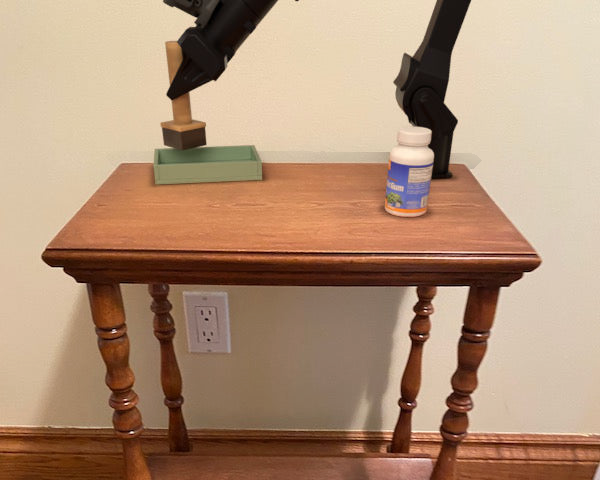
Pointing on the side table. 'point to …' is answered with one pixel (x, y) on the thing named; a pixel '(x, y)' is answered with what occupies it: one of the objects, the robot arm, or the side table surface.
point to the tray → (207, 164)
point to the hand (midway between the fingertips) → (170, 95)
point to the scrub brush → (181, 111)
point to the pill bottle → (409, 173)
